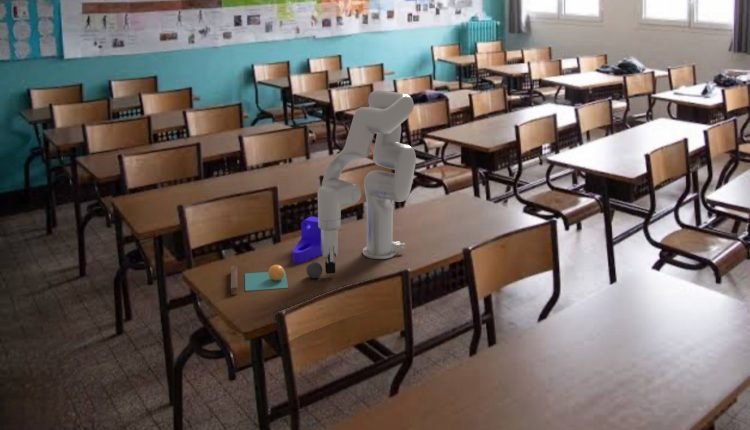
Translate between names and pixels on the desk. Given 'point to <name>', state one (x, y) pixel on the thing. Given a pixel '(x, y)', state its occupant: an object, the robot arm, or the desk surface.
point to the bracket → (308, 241)
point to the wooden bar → (234, 280)
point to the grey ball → (314, 270)
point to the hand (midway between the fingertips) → (330, 272)
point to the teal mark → (263, 282)
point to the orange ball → (276, 272)
